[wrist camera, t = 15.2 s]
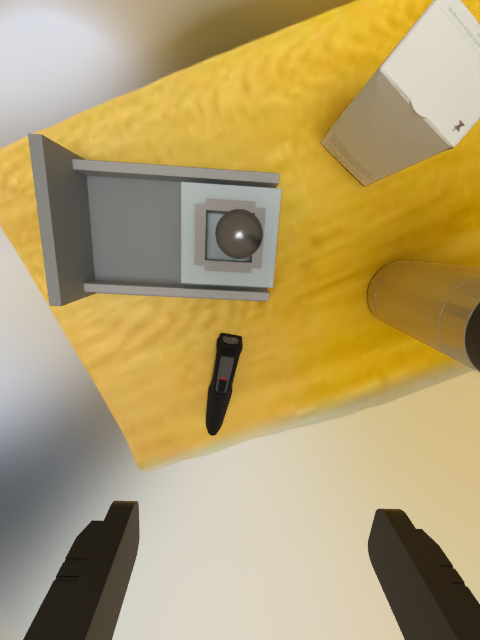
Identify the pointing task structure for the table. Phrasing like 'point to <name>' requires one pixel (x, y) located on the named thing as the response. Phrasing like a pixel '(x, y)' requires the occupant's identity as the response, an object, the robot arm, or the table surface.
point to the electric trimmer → (222, 380)
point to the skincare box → (414, 97)
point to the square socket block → (200, 242)
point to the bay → (121, 225)
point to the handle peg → (239, 233)
